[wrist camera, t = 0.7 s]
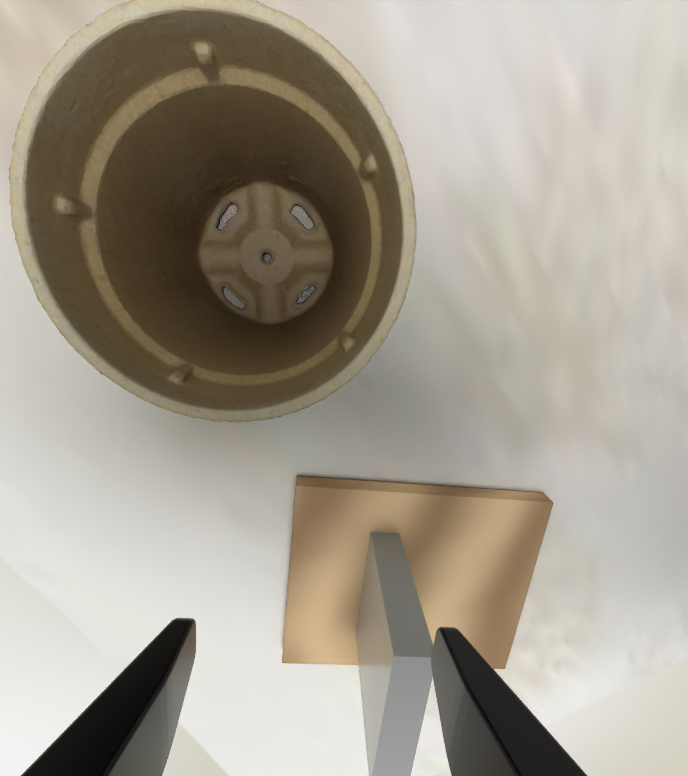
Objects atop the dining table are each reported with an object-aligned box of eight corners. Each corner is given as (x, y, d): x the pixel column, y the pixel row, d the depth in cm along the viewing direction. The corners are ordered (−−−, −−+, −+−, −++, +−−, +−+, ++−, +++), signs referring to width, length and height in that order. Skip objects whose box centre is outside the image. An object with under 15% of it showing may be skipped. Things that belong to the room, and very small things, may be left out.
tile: (400, 533, 20) (438, 657, 14) (383, 633, 22) (409, 786, 16) (370, 531, 20) (393, 656, 14) (355, 632, 22) (369, 786, 15)
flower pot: (403, 192, 17) (484, 104, 8) (332, 384, 19) (340, 464, 11) (194, 102, 15) (41, -109, 7) (144, 320, 18) (-16, 356, 9)
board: (542, 492, 21) (553, 502, 20) (497, 653, 25) (504, 668, 24) (297, 476, 20) (295, 485, 19) (283, 647, 23) (281, 663, 22)
